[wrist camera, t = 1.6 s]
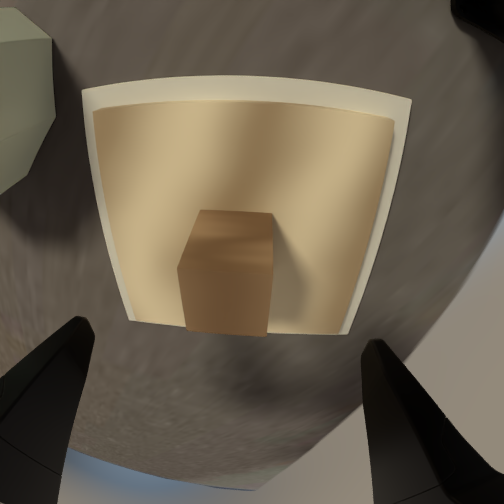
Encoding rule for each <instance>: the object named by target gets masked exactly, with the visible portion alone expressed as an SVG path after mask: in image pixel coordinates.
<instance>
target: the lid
mask: <svg viewBox="0 0 504 504" xmlns="http://www.w3.org/2000/svg"><path fill="white" fill-rule="evenodd" d="M93 122H94V132H95V140H96V148H97V156H98V162H99V169H100V175H101V181H102V187H103V193H104V198H105V203H106V208H107V213H108V218H109V223H110V227H111V232H112V236H113V240H114V245H115V249H116V253H117V257H118V261H119V265H120V268H121V272H122V276H123V279H124V283H125V286H126V290H127V293H128V296H129V300H130V303H131V306H132V309H133V313H134V316H135V319H136V320H137V321H144V322H152V323H161V324H169V325H179V326H186V330H187V331H194V332H205V333H217V334H230V335H245V336H263V337H267V332H274V333H303V334H338V333H339V331H340V328H341V325H342V323H343V320H344V317H345V314H346V311H347V308H348V305H349V303H350V300H351V297H352V294H353V291H354V288H355V284H356V281H357V278H358V275H359V272H360V268H361V265H362V262H363V259H364V255H365V252H366V248H367V245H368V241H369V238H370V234H371V230H372V226H373V223H374V219H375V215H376V211H377V207H378V203H379V199H380V194H381V190H382V186H383V181H384V177H385V172H386V167H387V162H388V157H389V152H390V147H391V142H392V136H393V130H394V124H395V121H394V120H392V119H390V118H388V117H385V116H380V115H374V114H369V113H363V112H358V111H352V110H345V109H338V108H331V107H324V106H315V105H306V104H296V103H284V102H270V101H250V100H185V101H165V102H151V103H140V104H130V105H121V106H113V107H106V108H100V109H98V110H95V111H93Z"/></svg>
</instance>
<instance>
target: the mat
mask: <svg viewBox="0 0 504 504" xmlns="http://www.w3.org/2000/svg"><path fill="white" fill-rule="evenodd" d="M185 100H250V101H270V102H284V103H296V104H306V105H315V106H324V107H331V108H338V109H345V110H352V111H358V112H363V113H369V114H374V115H380V116H385V117H388V118H390V119H392V120H394V121H395V124H394V130H393V136H392V142H391V147H390V152H389V157H388V162H387V167H386V172H385V177H384V181H383V186H382V190H381V194H380V199H379V203H378V207H377V211H376V215H375V219H374V223H373V226H372V230H371V234H370V238H369V241H368V245H367V248H366V252H365V255H364V259H363V262H362V265H361V268H360V272H359V275H358V278H357V281H356V284H355V288H354V291H353V294H352V297H351V300H350V303H349V305H348V308H347V311H346V314H345V317H344V320H343V323H342V325H341V328H340V331H339V333H338V334H348V332H349V330H350V327H351V325H352V322H353V320H354V317H355V314H356V312H357V309H358V306H359V304H360V301H361V298H362V295H363V293H364V290H365V287H366V284H367V281H368V278H369V275H370V272H371V269H372V266H373V263H374V260H375V257H376V254H377V250H378V247H379V244H380V241H381V237H382V234H383V230H384V227H385V223H386V220H387V216H388V212H389V209H390V205H391V201H392V197H393V193H394V189H395V185H396V181H397V176H398V172H399V167H400V163H401V158H402V153H403V148H404V143H405V138H406V132H407V127H408V121H409V115H410V108H411V102H412V100H411V99H408V98H404V97H400V96H396V95H392V94H387V93H383V92H378V91H374V90H369V89H364V88H358V87H353V86H347V85H341V84H334V83H327V82H320V81H312V80H303V79H292V78H280V77H264V76H233V75H216V76H186V77H170V78H158V79H148V80H139V81H131V82H124V83H117V84H111V85H105V86H99V87H94V88H88V89H84V90H82V101H83V113H84V123H85V132H86V140H87V147H88V155H89V161H90V167H91V173H92V179H93V185H94V190H95V195H96V200H97V205H98V210H99V215H100V219H101V224H102V228H103V232H104V236H105V240H106V244H107V248H108V252H109V256H110V259H111V263H112V267H113V270H114V274H115V277H116V280H117V284H118V287H119V290H120V293H121V297H122V300H123V303H124V306H125V309H126V312H127V315H128V318H129V320H133V321H137V320H136V319H135V316H134V313H133V309H132V306H131V303H130V300H129V296H128V293H127V290H126V286H125V283H124V279H123V276H122V272H121V268H120V265H119V261H118V257H117V253H116V249H115V245H114V240H113V236H112V232H111V227H110V223H109V218H108V213H107V208H106V203H105V198H104V193H103V187H102V181H101V175H100V169H99V162H98V156H97V148H96V140H95V132H94V122H93V111H95V110H98V109H100V108H106V107H113V106H121V105H130V104H140V103H151V102H165V101H185ZM141 322H144V321H141ZM148 323H152V322H148ZM157 324H161V323H157ZM165 325H169V324H165ZM174 326H179V325H174ZM184 327H186V326H184ZM267 333H274V332H267ZM286 334H303V333H286Z"/></svg>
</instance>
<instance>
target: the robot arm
mask: <svg viewBox="0 0 504 504" xmlns="http://www.w3.org/2000/svg"><path fill="white" fill-rule="evenodd" d="M460 6H461V7H462V8H463V10H464V13H463V12H462V11H461V10H460ZM451 9H452V11H453V13H454V14H455V15H456V17H458V18H459V19H461V20H463V21H466V22H468V23H470V24H471V25H473V26H475V27H477V28H479V29H481V30H483V31H485V32H486V33H488V34H490V35H492V36H493V37H495V38H497V39H499V40H500V41H502V42H503V43H504V0H451ZM94 341H95V334H94V331H93V329H92V327H91V325H90V323H89V321H88V319H87V318H86V317H81V316H75V317H74V318H72V319H71V320H70V321H68V322H67V323H66V324H65V325H63V326H62V327H61V328H60V329H58V330H57V331H56V332H55V333H53V334H52V335H51V336H50V337H48V338H47V339H46V340H45V341H44V342H42V343H41V344H40V345H39V346H37V347H36V348H35V349H34V350H33V351H31V352H30V353H29V354H28V355H27V356H25V357H24V358H23V359H22V360H21V361H20V362H18V363H17V364H16V365H15V366H14V367H13V368H11V369H10V370H9V371H8V372H7V373H6V374H5V375H3V376H2V377H1V378H0V504H57V502H58V495H59V488H60V483H61V478H62V476H61V475H62V472H63V467H64V462H65V457H66V452H67V448H68V443H69V439H70V435H71V431H72V427H73V423H74V419H75V416H76V412H77V408H78V405H79V401H80V398H81V394H82V391H83V388H84V384H85V381H86V377H87V373H88V368H89V363H90V359H91V354H92V350H93V345H94ZM361 375H362V398H363V409H364V415H365V423H366V430H367V438H368V446H369V455H370V464H371V474H372V486H373V499H374V504H504V474H502V473H500V472H498V471H496V470H495V469H494V468H492V467H491V466H490V465H489V464H488V463H487V462H486V461H485V460H484V459H483V458H482V457H481V456H480V455H479V454H478V452H477V451H476V450H475V449H474V448H473V447H472V446H471V445H470V444H469V443H468V442H467V441H466V440H465V439H464V438H463V436H462V435H461V434H460V433H459V432H458V430H457V429H456V428H455V427H454V426H453V424H452V423H451V422H450V421H449V419H448V418H446V416H445V414H444V413H443V412H442V411H441V409H440V408H439V407H438V405H437V404H436V403H435V402H434V401H433V399H432V398H431V397H430V396H429V394H428V393H427V392H426V391H425V389H424V388H423V387H422V386H421V385H420V383H419V382H418V381H417V380H416V378H415V377H414V376H413V375H412V374H411V372H410V371H409V370H408V369H407V368H406V366H405V365H404V364H403V363H402V362H401V360H400V359H399V358H398V357H397V356H396V354H395V353H394V352H393V351H392V350H391V349H390V347H389V346H388V345H387V344H386V343H385V342H384V341H383V340H382V339H370V340H369V341H368V343H367V345H366V347H365V349H364V351H363V353H362V355H361Z"/></svg>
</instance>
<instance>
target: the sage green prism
mask: <svg viewBox="0 0 504 504" xmlns="http://www.w3.org/2000/svg"><path fill="white" fill-rule="evenodd" d="M55 118H56V112H55V102H54V89H53V71H52V38H51V37H50V36H49V35H47V34H46V33H45V32H44V31H43V30H41V29H40V28H39V27H38V26H37V25H35V24H34V23H33V22H32V21H31V20H29V19H28V18H27V17H26V16H25V15H23V14H22V13H21V12H20V11H19V10H17V9H16V8H15V7H0V195H1V194H2V193H3V192H5V191H6V190H7V189H9V188H10V187H11V186H13V185H14V184H15V183H17V182H18V181H20V180H21V179H22V178H24V177H25V176H27V175H28V172H29V170H30V168H31V165H32V163H33V161H34V159H35V157H36V154H37V152H38V150H39V148H40V146H41V144H42V142H43V140H44V138H45V136H46V134H47V132H48V130H49V129H50V127H51V125H52V123H53V121H54V119H55Z"/></svg>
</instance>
